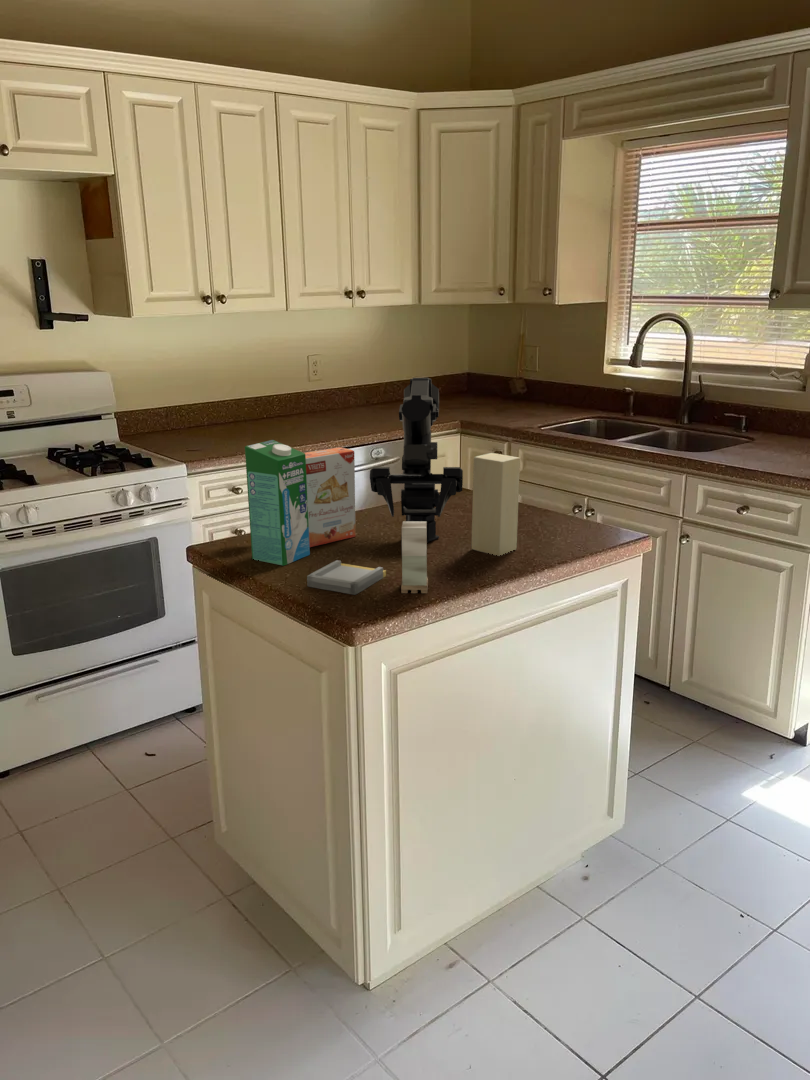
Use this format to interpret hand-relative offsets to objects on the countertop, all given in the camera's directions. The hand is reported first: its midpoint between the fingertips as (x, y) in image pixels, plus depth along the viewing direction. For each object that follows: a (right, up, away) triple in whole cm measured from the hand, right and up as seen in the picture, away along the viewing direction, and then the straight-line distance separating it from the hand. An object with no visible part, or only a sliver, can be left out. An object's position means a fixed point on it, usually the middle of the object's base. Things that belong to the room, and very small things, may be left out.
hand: (415, 515), depth 170 cm
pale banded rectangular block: (0, -14, -3) cm, 15 cm away
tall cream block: (+18, -7, +21) cm, 28 cm away
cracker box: (-21, -5, +29) cm, 36 cm away
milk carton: (-29, -9, +17) cm, 35 cm away
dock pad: (-14, -13, +1) cm, 19 cm away
